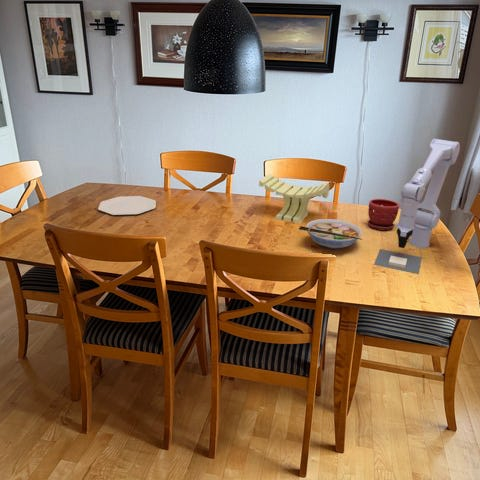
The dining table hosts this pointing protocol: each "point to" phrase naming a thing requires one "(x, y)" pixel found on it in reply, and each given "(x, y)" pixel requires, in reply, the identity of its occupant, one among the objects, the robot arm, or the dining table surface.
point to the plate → (127, 205)
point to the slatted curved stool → (293, 197)
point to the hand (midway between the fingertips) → (401, 247)
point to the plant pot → (382, 213)
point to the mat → (412, 261)
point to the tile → (397, 261)
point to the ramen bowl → (333, 232)
